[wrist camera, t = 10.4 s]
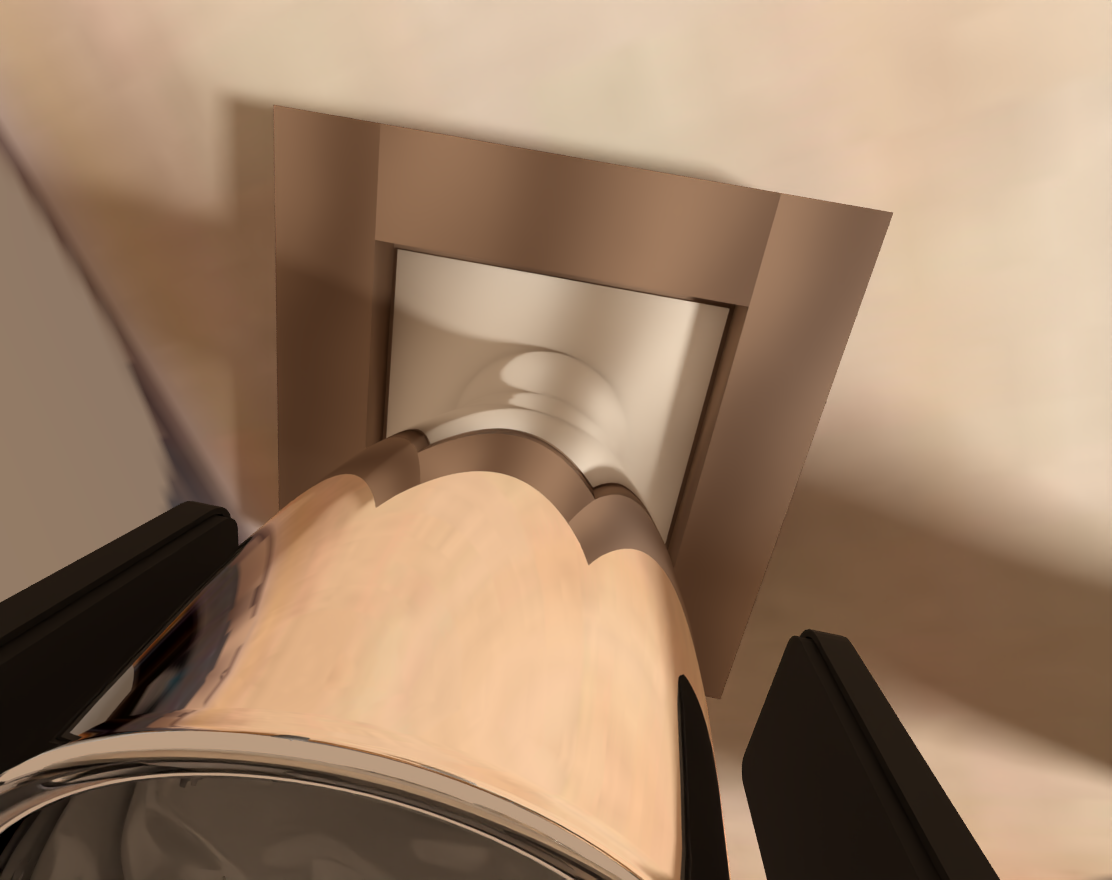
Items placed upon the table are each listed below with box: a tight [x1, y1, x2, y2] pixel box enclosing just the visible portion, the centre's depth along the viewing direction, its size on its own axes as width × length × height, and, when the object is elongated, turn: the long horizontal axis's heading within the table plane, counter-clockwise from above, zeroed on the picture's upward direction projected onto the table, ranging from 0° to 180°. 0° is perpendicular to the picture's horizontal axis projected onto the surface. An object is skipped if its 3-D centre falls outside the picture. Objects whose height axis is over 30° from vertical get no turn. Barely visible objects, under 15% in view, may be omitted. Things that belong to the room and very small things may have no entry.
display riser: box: [274, 105, 893, 699], centre depth 19 cm, size 17×17×4 cm
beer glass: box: [0, 350, 731, 880], centre depth 11 cm, size 7×7×15 cm
